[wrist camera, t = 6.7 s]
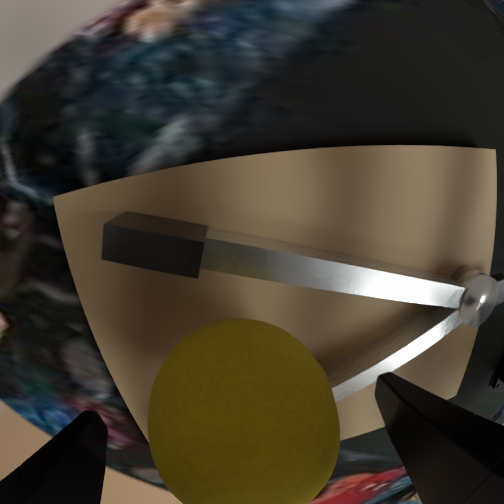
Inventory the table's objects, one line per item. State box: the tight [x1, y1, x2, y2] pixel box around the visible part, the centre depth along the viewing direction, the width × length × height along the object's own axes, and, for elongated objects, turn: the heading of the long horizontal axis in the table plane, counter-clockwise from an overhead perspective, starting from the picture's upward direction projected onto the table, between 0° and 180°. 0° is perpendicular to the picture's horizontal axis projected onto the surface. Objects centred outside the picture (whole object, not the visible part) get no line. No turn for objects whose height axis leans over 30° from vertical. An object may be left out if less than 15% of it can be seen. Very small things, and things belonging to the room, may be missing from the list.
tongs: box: [101, 211, 504, 402], centre depth 11 cm, size 17×12×2 cm
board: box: [53, 145, 497, 442], centre depth 13 cm, size 20×16×1 cm
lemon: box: [148, 318, 340, 504], centre depth 8 cm, size 6×6×8 cm
